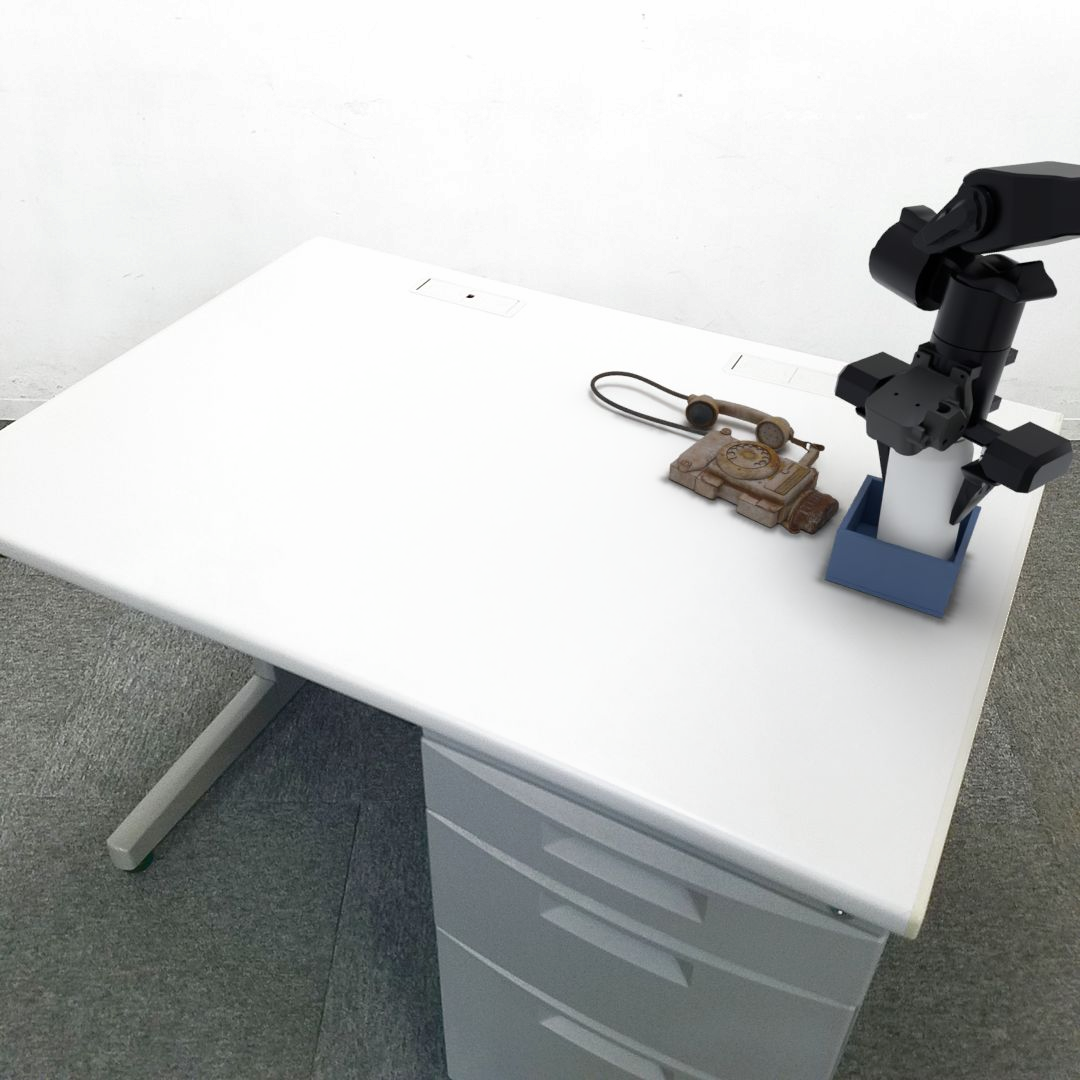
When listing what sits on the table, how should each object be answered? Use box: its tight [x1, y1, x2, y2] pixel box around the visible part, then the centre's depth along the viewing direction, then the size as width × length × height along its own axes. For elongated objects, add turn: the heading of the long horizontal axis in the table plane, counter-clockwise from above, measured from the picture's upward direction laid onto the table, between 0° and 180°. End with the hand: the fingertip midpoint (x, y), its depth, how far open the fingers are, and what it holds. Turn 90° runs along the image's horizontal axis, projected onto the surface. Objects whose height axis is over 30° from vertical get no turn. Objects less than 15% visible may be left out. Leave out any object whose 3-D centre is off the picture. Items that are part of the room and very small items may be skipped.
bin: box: [824, 473, 982, 619], centre depth 86 cm, size 10×10×6 cm
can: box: [877, 437, 975, 561], centre depth 82 cm, size 6×6×12 cm
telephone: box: [589, 370, 840, 534], centre depth 102 cm, size 15×33×4 cm, turn 49°
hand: (920, 503), depth 83 cm, fingers closed on can, 6 cm apart
